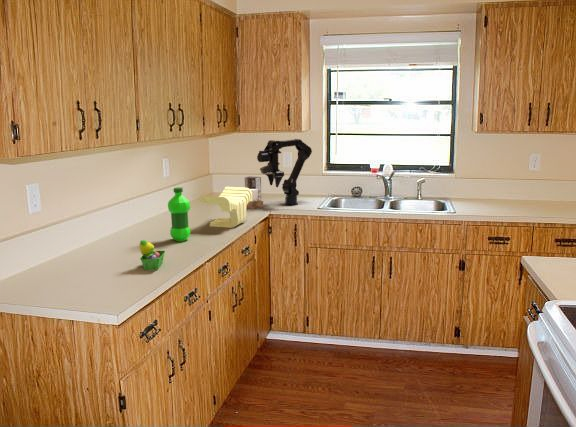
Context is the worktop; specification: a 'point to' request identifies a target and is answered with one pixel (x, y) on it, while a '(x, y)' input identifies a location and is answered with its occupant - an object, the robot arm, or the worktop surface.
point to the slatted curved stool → (230, 205)
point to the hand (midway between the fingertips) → (274, 186)
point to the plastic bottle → (179, 216)
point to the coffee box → (254, 184)
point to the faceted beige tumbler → (254, 194)
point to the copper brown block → (255, 204)
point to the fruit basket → (150, 256)
